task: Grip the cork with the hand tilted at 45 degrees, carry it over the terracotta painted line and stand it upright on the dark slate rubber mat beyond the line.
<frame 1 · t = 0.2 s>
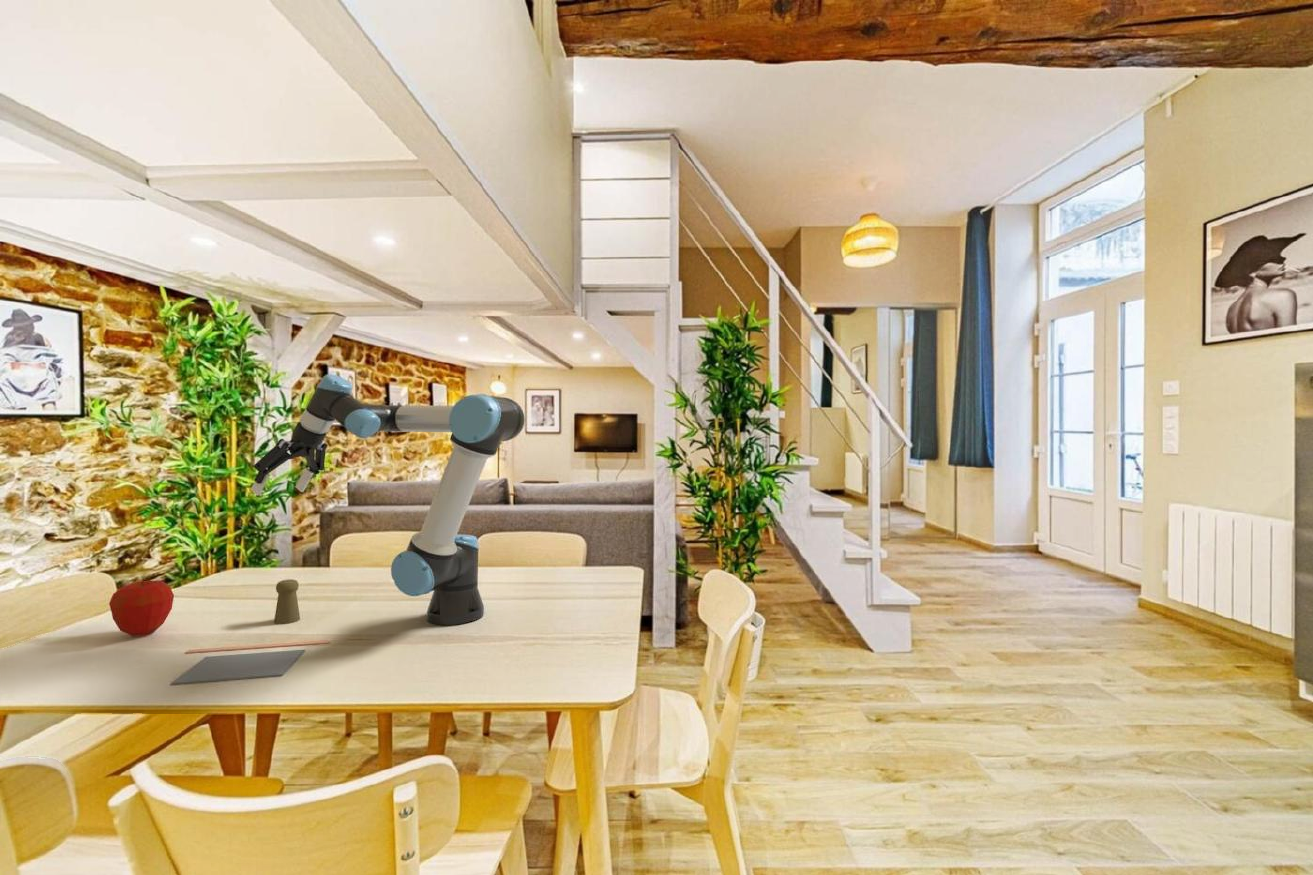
hand: (277, 490, 159), 35 cm above the table, tool tilted 30°, fingers open, 13 cm apart
cork: (287, 621, 156), on the table
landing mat: (242, 666, 125), on the table
throw line: (260, 647, 137), on the table
apple: (142, 634, 144), on the table
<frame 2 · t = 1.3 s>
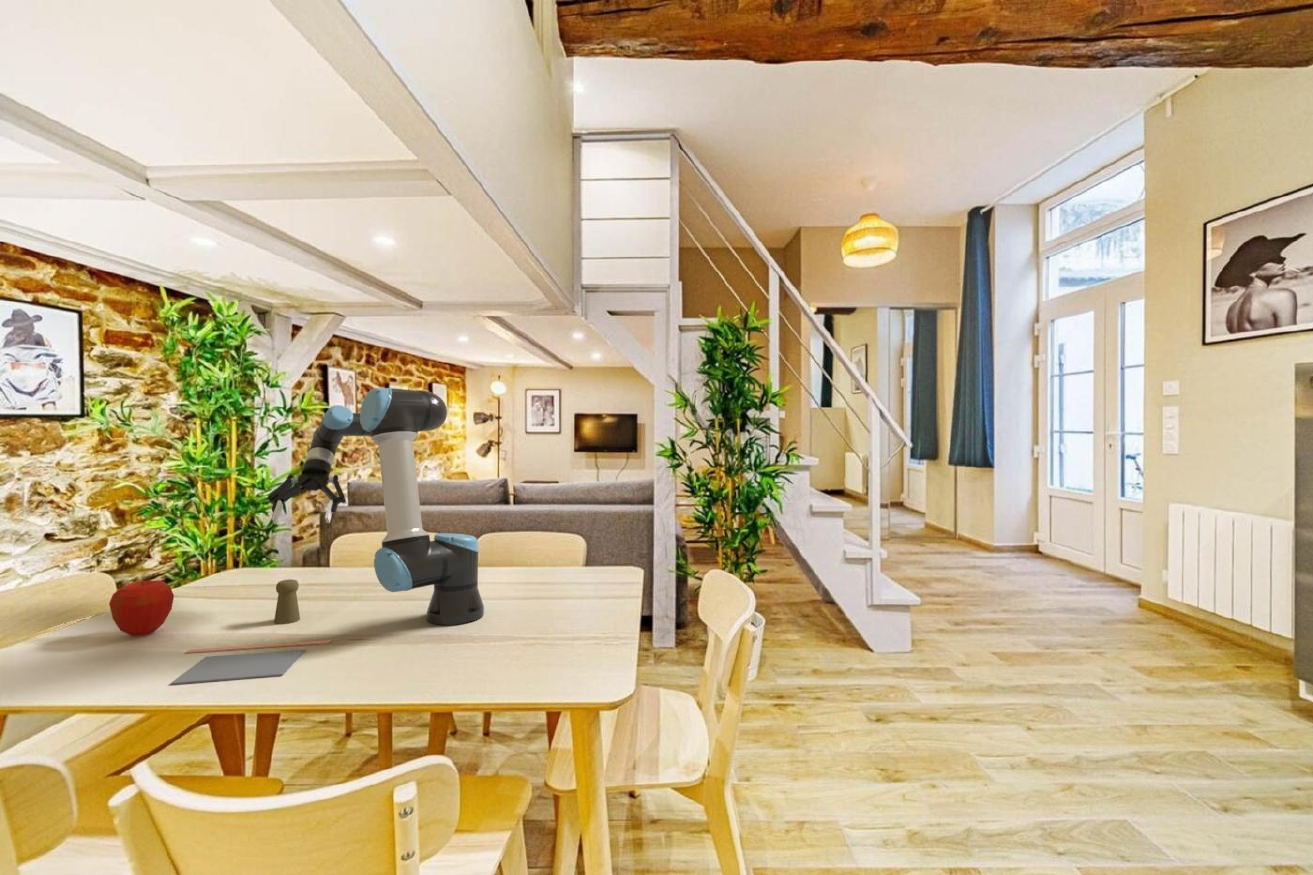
hand: (301, 520, 166), 26 cm above the table, tool tilted 45°, fingers open, 13 cm apart
nothing on the table moved.
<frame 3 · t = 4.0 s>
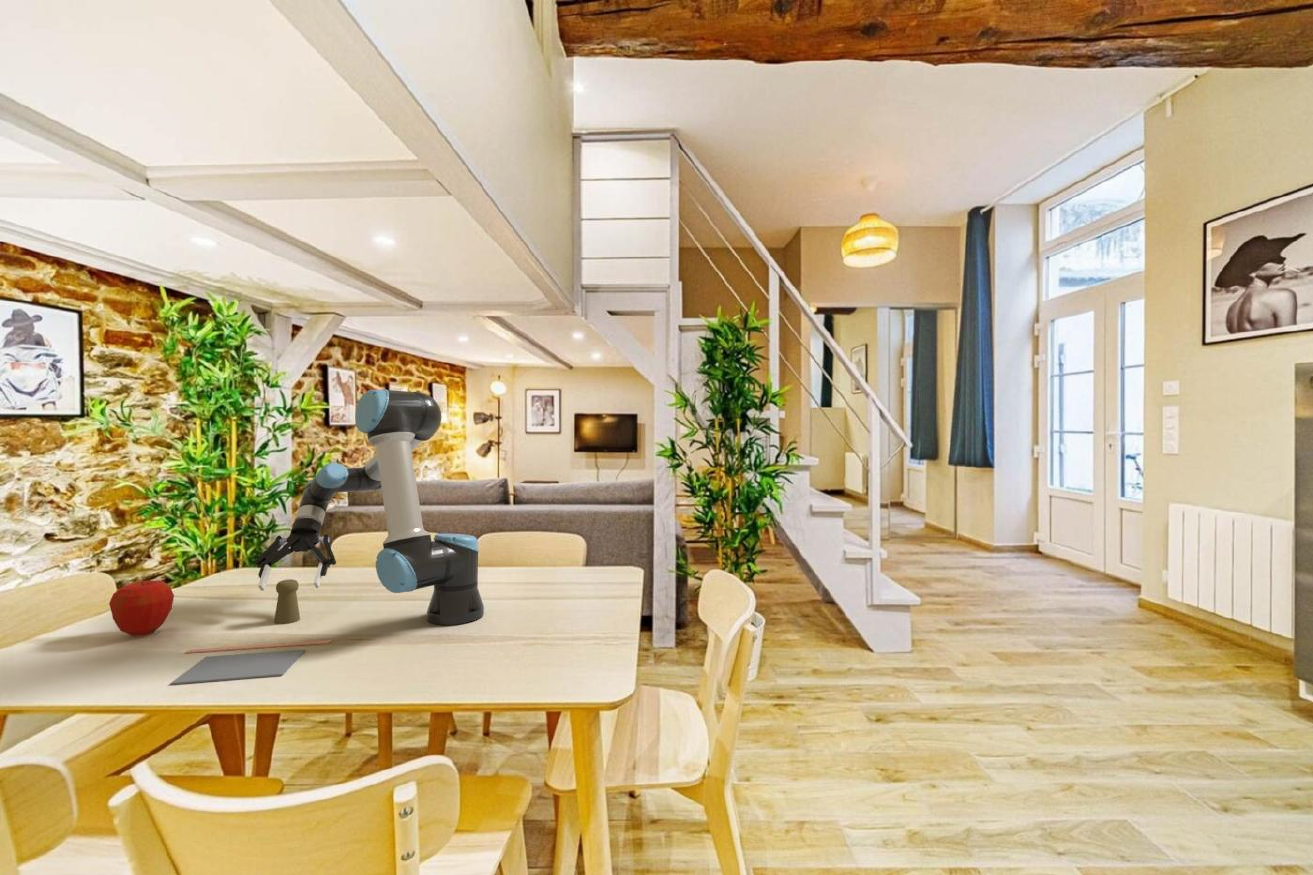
hand: (288, 586, 159), 8 cm above the table, tool tilted 45°, fingers open, 13 cm apart
nothing on the table moved.
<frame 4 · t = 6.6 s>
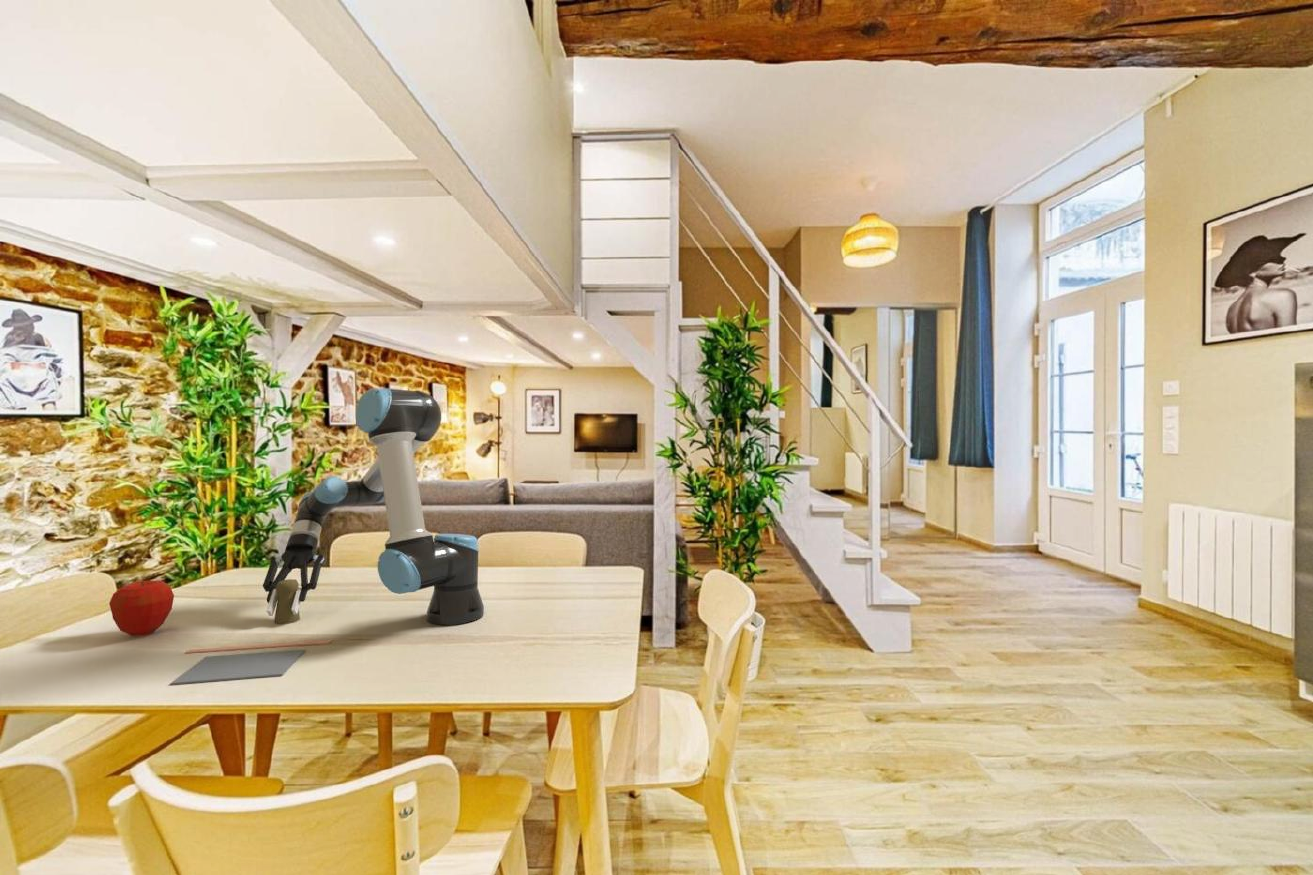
hand: (281, 612, 152), 3 cm above the table, tool tilted 45°, fingers closed on cork, 5 cm apart
cork: (287, 621, 156), on the table, touching gripper
everything else where it was.
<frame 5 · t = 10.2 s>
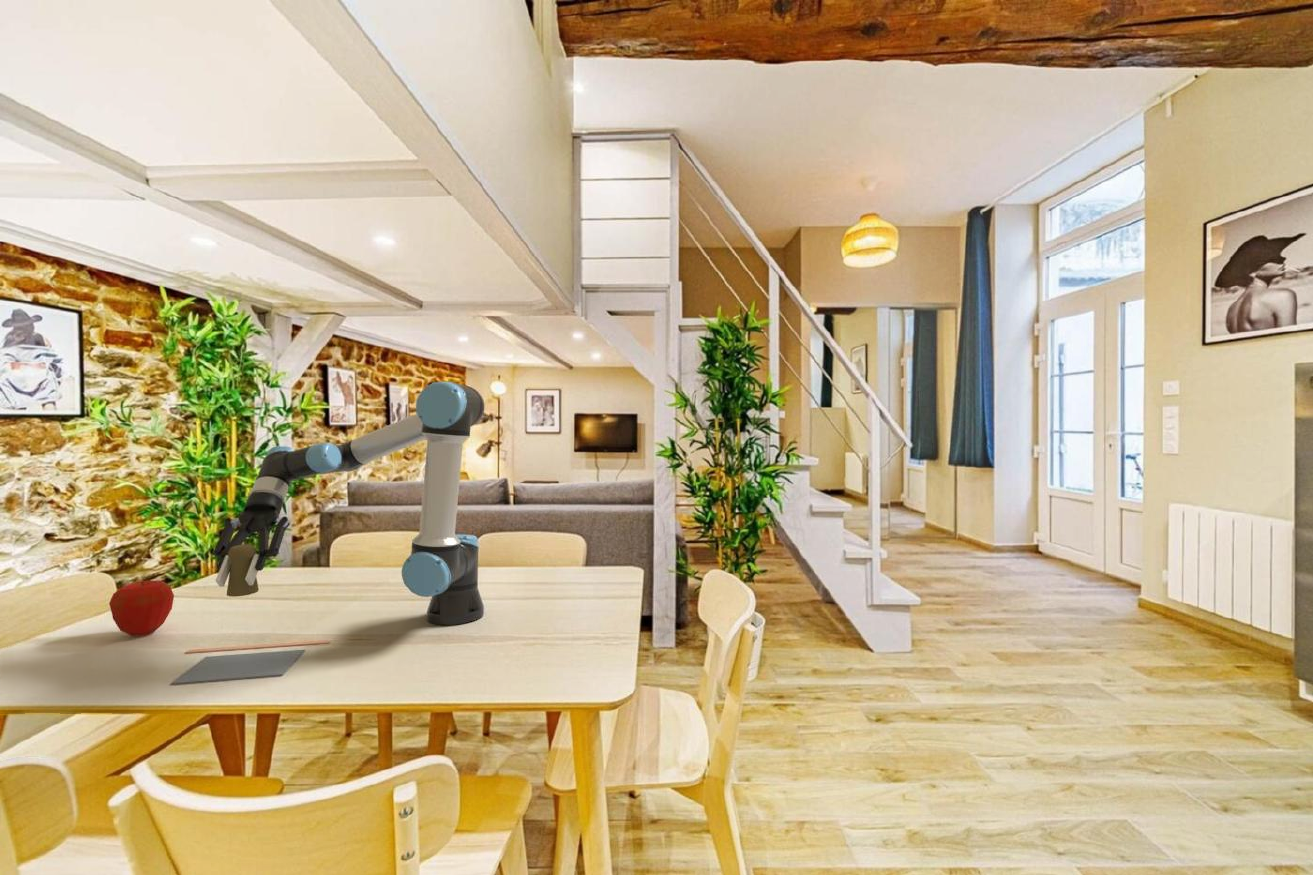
hand: (234, 582, 128), 18 cm above the table, tool tilted 45°, fingers closed on cork, 5 cm apart
cork: (242, 593, 132), point 14 cm above the table, touching gripper
everything else where it was.
when the fingers open (5 cm above the table, at t = 14.1 s): cork drops 1 cm, resting on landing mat.
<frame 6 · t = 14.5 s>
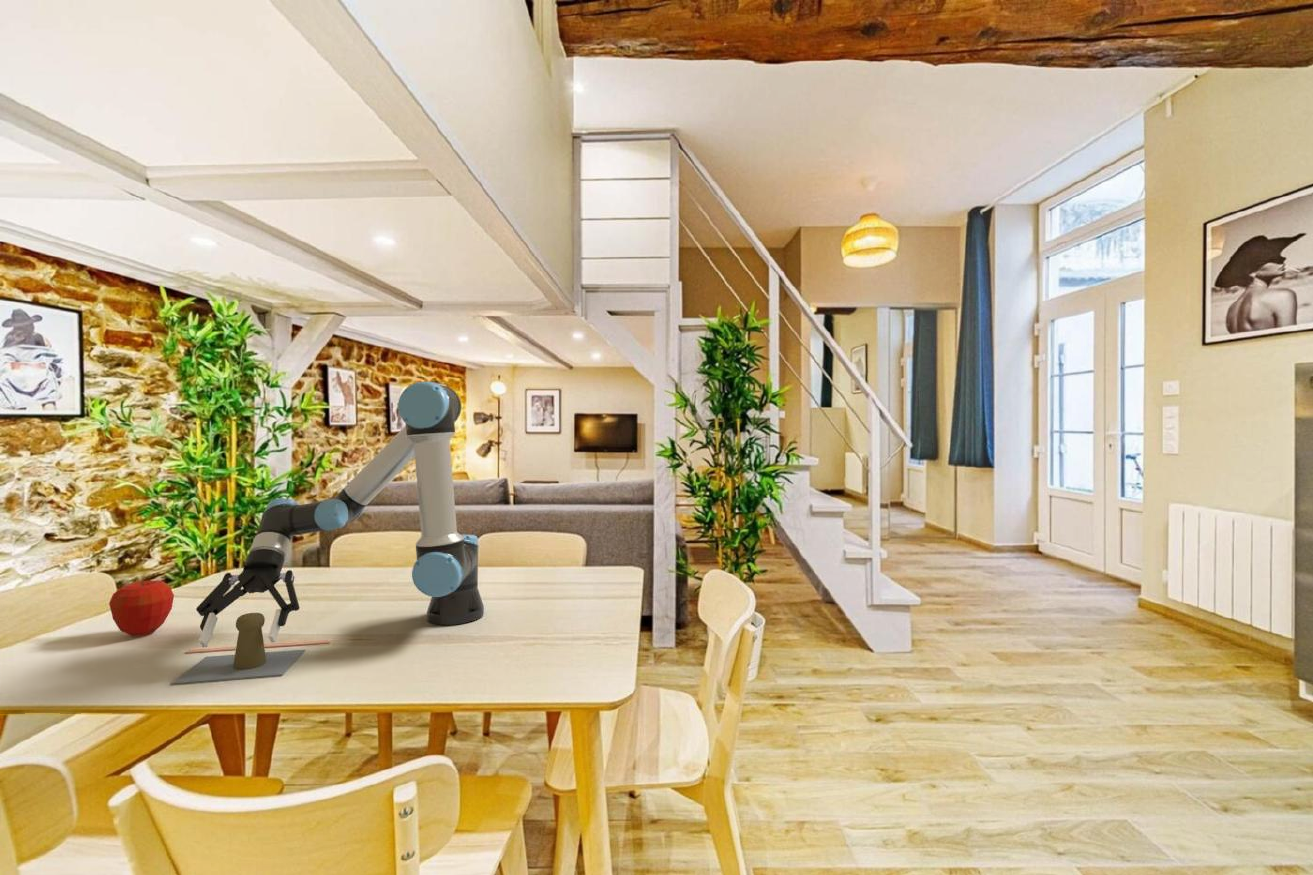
hand: (237, 642, 123), 6 cm above the table, tool tilted 45°, fingers open, 12 cm apart
cork: (249, 665, 126), resting on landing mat
everything else where it was.
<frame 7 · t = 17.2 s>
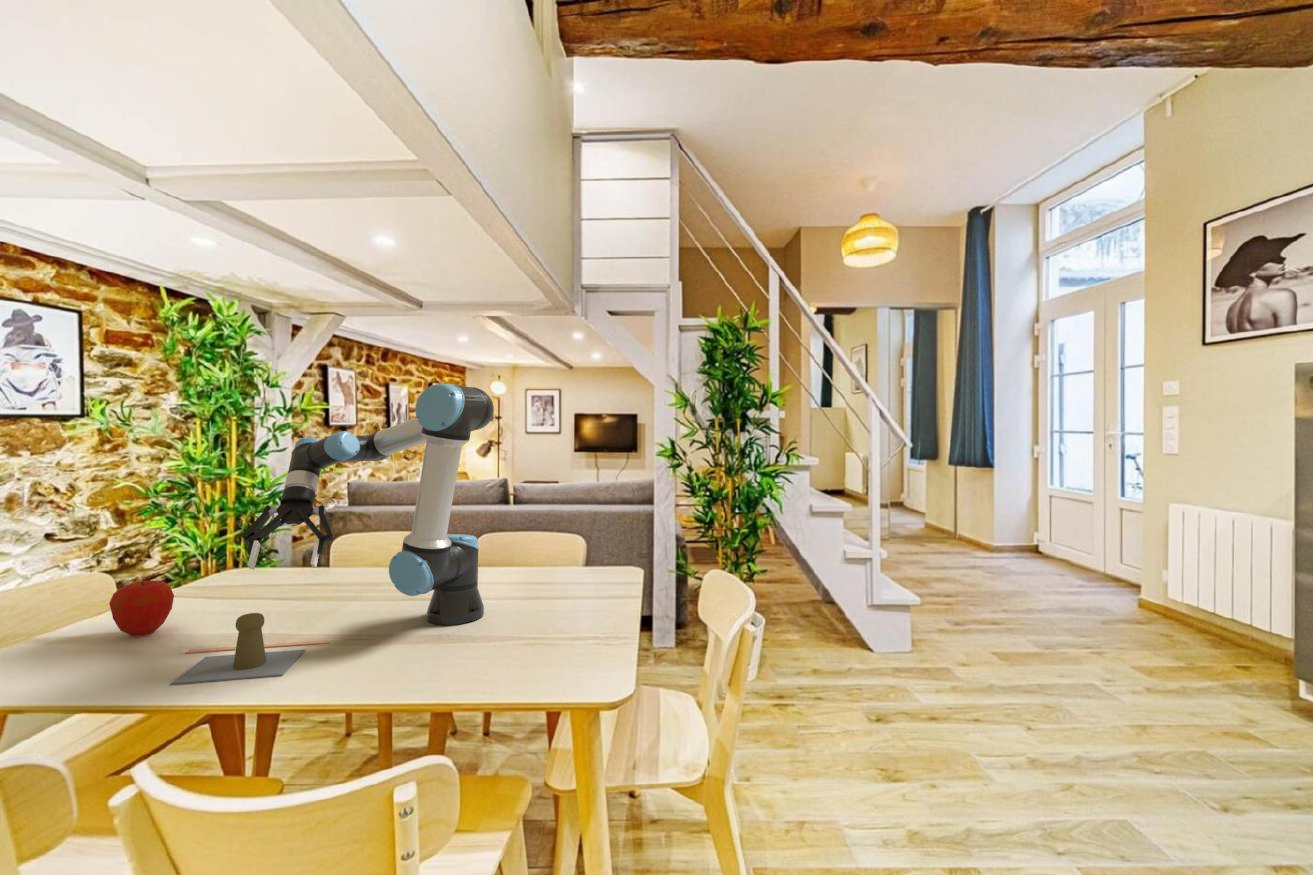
hand: (282, 566, 143), 18 cm above the table, tool tilted 35°, fingers open, 13 cm apart
nothing on the table moved.
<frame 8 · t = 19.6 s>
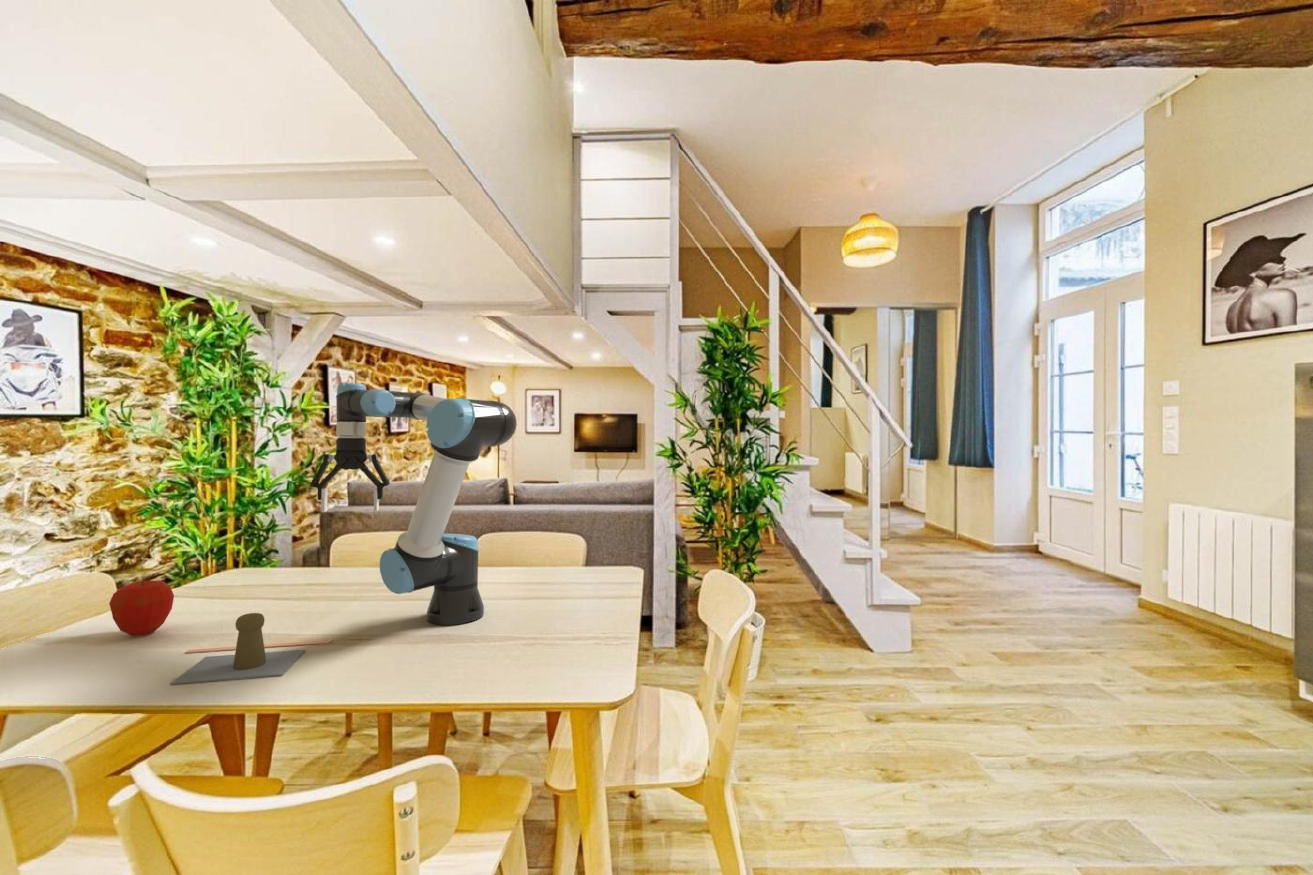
hand: (350, 511, 165), 29 cm above the table, tool pointing down, fingers open, 13 cm apart
nothing on the table moved.
at the end: cork inside the target area (1.3 cm from its centre), resting on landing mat; cork tilted 0°; the gripper is holding nothing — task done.
